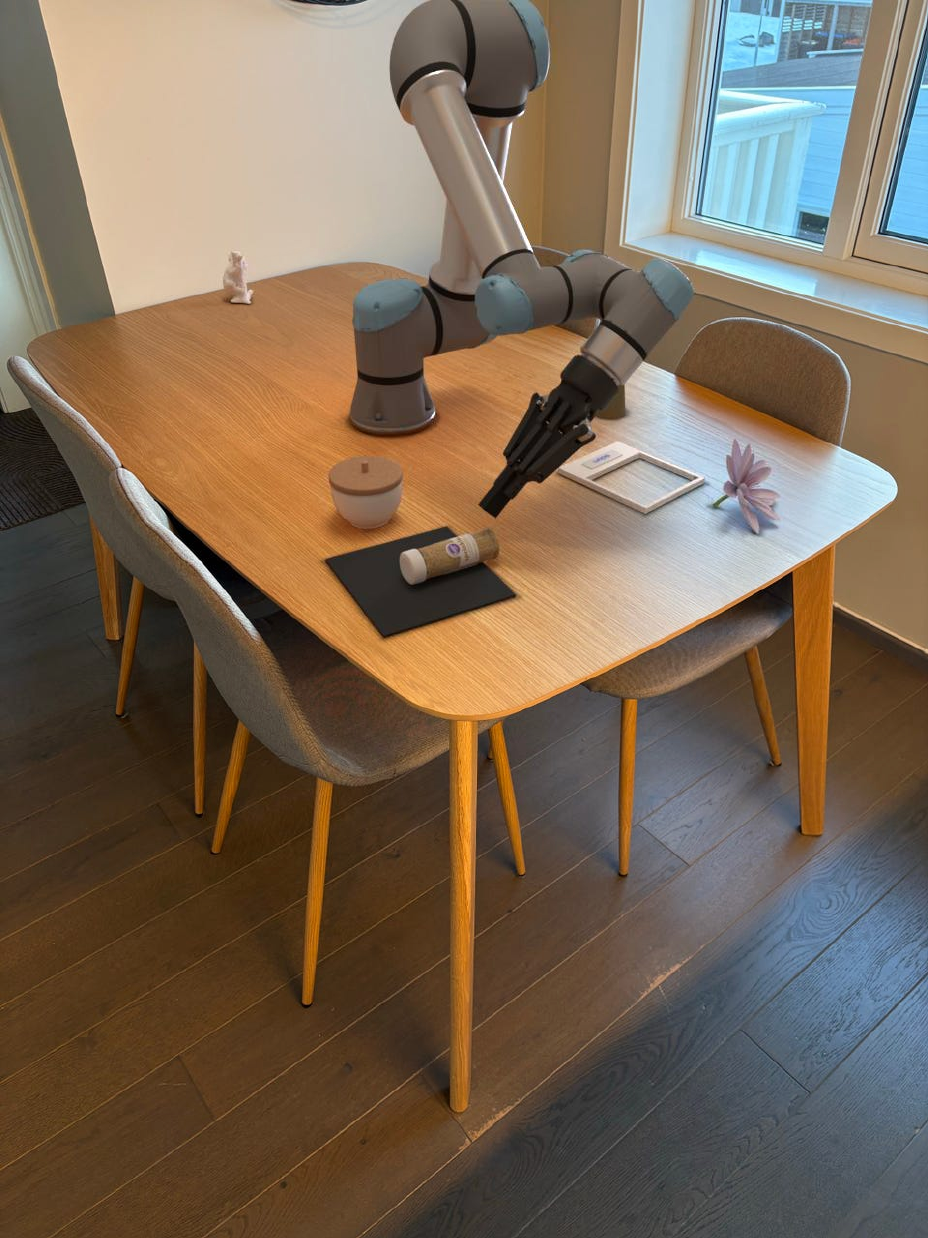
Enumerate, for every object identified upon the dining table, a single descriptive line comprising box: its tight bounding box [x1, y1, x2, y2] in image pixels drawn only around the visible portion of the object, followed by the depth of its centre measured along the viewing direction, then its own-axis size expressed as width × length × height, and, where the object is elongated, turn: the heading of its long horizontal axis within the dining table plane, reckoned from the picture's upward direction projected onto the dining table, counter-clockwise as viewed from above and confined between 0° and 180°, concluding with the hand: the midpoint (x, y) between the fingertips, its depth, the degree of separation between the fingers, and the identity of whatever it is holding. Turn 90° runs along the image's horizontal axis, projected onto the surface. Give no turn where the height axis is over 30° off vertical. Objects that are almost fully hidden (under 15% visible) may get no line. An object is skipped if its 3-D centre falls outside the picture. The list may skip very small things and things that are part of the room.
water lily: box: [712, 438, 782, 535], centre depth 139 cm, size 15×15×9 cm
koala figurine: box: [222, 250, 254, 305], centre depth 220 cm, size 8×7×12 cm
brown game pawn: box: [595, 383, 626, 420], centre depth 167 cm, size 6×6×11 cm
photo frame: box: [557, 440, 706, 515], centre depth 149 cm, size 15×1×18 cm
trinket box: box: [327, 455, 404, 530], centre depth 137 cm, size 11×11×9 cm
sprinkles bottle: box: [400, 527, 501, 585], centre depth 126 cm, size 5×5×13 cm
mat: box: [324, 525, 517, 639], centre depth 126 cm, size 20×19×1 cm
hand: (486, 511), depth 126 cm, fingers closed
